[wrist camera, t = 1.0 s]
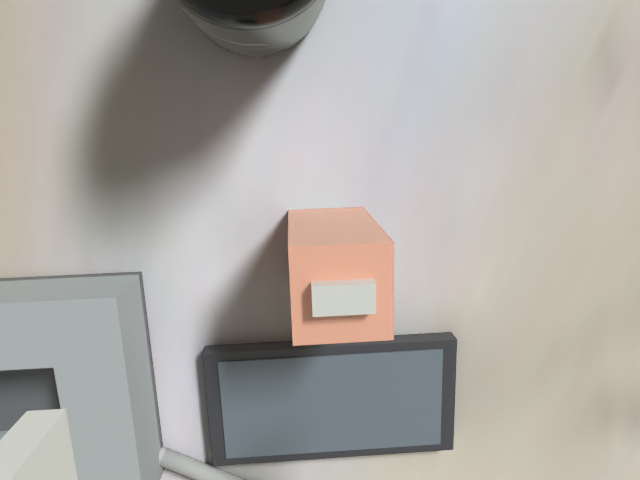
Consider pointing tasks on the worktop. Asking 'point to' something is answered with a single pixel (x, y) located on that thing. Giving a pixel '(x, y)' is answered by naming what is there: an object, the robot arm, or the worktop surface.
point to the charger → (340, 277)
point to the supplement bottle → (253, 23)
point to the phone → (330, 398)
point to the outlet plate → (84, 368)
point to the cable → (191, 466)
